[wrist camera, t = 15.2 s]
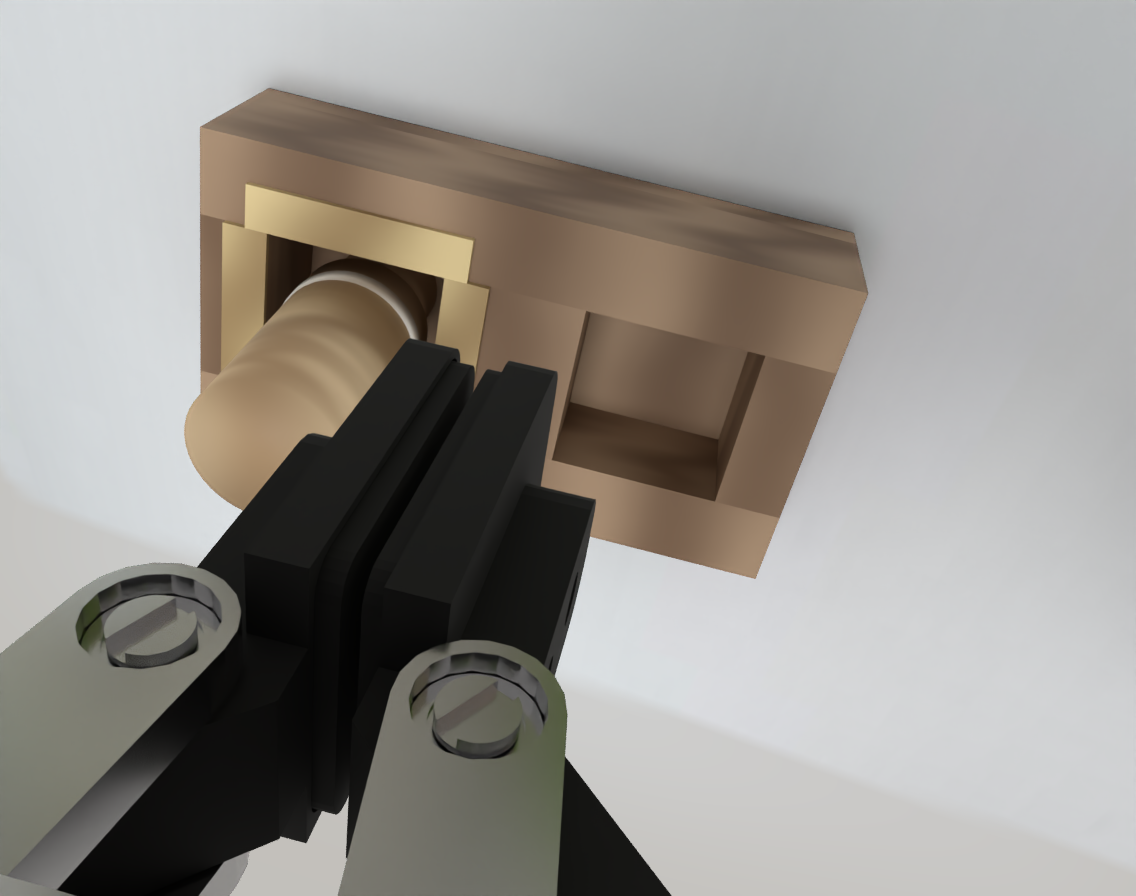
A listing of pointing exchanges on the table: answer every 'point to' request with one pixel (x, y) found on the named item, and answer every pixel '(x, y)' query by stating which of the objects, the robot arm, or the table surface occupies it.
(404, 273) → the peg
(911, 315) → the table surface
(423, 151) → the board
